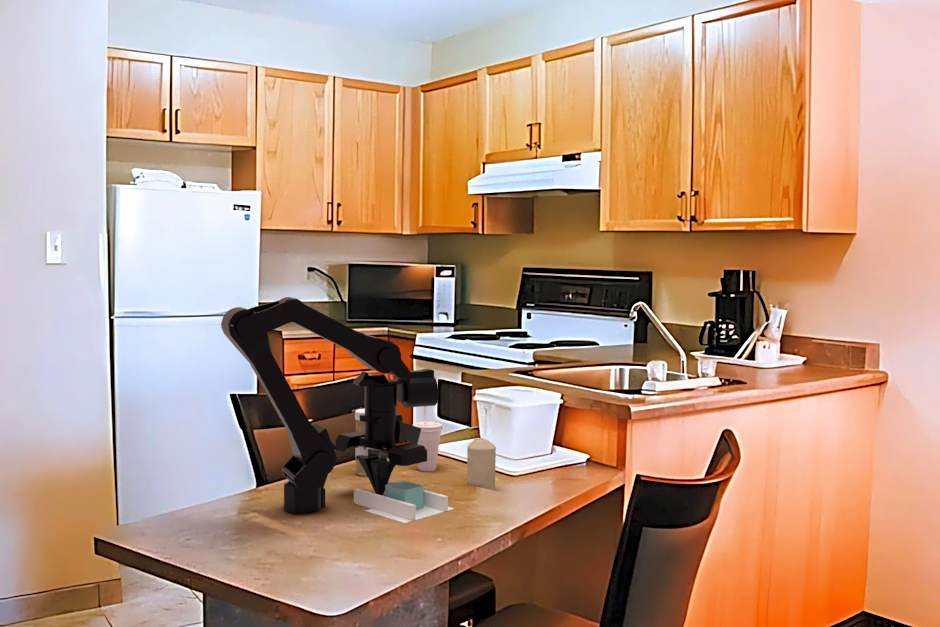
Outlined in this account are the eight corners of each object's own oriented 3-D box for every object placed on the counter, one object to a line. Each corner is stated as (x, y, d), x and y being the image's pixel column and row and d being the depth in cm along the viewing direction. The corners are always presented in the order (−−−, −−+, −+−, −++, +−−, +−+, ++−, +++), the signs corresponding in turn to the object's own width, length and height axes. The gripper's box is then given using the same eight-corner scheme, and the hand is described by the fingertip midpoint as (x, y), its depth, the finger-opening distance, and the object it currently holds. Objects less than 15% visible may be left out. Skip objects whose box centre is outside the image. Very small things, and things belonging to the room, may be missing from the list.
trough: (404, 531, 152) (404, 508, 152) (346, 513, 162) (346, 490, 162) (454, 516, 161) (454, 494, 160) (396, 500, 171) (396, 478, 170)
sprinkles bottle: (369, 470, 193) (369, 407, 192) (381, 474, 190) (381, 410, 189) (350, 473, 190) (350, 409, 190) (362, 477, 187) (362, 412, 186)
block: (404, 513, 157) (404, 490, 157) (385, 507, 161) (385, 485, 160) (423, 508, 160) (423, 485, 160) (403, 502, 164) (403, 480, 164)
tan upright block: (499, 491, 178) (500, 441, 177) (473, 494, 176) (473, 442, 175) (488, 484, 183) (489, 435, 182) (462, 487, 181) (463, 437, 180)
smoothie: (408, 466, 197) (409, 402, 196) (437, 464, 199) (438, 401, 198) (416, 473, 191) (416, 407, 190) (445, 471, 193) (446, 406, 192)
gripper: (449, 410, 163) (448, 496, 164) (379, 398, 176) (378, 477, 177) (404, 418, 155) (403, 509, 156) (333, 404, 168) (333, 488, 169)
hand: (380, 495), depth 165 cm, fingers closed
